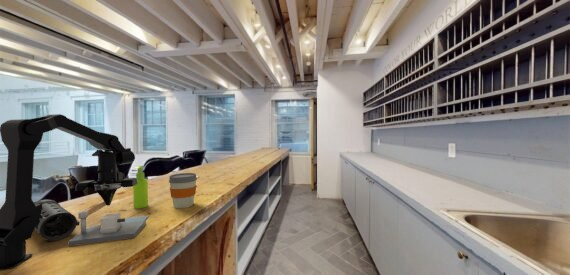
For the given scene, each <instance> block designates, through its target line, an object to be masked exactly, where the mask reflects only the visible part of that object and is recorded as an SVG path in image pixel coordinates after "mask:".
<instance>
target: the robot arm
mask: <svg viewBox="0 0 570 275" xmlns="http://www.w3.org/2000/svg"><path fill="white" fill-rule="evenodd" d="M56 129H57V130H58V131H61V132H64V133H66V134H69V135H71V136H75V137H76V138H80V139H81V140H84V141H86V142H88V143H89V144H90V146H93V147H94V148H96V150H95V152H93V153H92V154H91V156H92V157H97V165H98V166H97V170H96V174H98V180H94V179H93V180H92V179H91V180H83V181H80V182H77V183H76V185H75V192H80V191H81V192H82V191H87V189H89V188H94V190H93V192H95V193H97V194H98V195H99V197H101V199H102V201H104V202H105V203H106V206H108V207H109V206H110V205H111V204H112V201H113V199H114V196H115V194H116V192H117V190H118V189H120V188H131V187H132V188H133V186H134V185H136V184H137V179H136V177H126V178H124V173H123V172H121V171H119V167H117V166H120V165H128V164H132V163H134V161H136V160H135V159H136V155H135V152H133V151H132V150H131V148H130V147H124V145H123V144H122V143H121V141H120V140H119V137H118V136H117V135H115V134H111V133H107V132H102V131H97V130H95V129H93V128H90V127H88V126H86V125H83V124H81V123H79V122H77V121H76V120H73V119H72V118H68V117H67V116H66V115H64V114H61V113H60V114H57V113H56V114H47V115H44V116H40V117H34V118H26V119H25V118H24V119H21V118H20V119H8V120H6V121H5V122H3V123H1V124H0V138H1V141H2V143H3V145H4V146H5V148H6V149H7V152H8V153H7V169H6V181H5V197H4V198H5V201H4V203H3V205H1V207H0V270H6V269H12V268H15V267H17V266H19V265H20V264H22V263H23V262H25V261H26V260H28V259H29V258H31V257H33V253H27V244H26V243H27V242H26V241H27V240H30V239H31V238H32V236H33V234H34V231H35V230H36V229H35V227H36V226H37V225H38V224H39V218H41V219H42V216H41V210H42V204H34V203H35V202H34V201H33V182H34V181H33V180H34V179H33V178H34V165H35V161H34V160H35V151H36V149H37V147H38V146H39V144H40V143H41V142H42V139H43V136H44V134H45V133H47V132H51V131H53V130H56Z"/></svg>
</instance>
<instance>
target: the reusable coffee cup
mask: <svg viewBox="0 0 570 275" xmlns="http://www.w3.org/2000/svg"><path fill="white" fill-rule="evenodd" d="M168 177H169V179H168V183H169V186H170V187H169V191H170V192H169V193H170V198H172V206H173V208H174V209H175V208H176V209H185V208H189V207H192V206H193V205H194V201H195V195H196V193H197V192H196V191H197V180H198V177H197V173H194V172H185V173H175V174H171V175H169V176H168Z"/></svg>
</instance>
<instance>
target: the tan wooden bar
mask: <svg viewBox="0 0 570 275" xmlns="http://www.w3.org/2000/svg"><path fill="white" fill-rule="evenodd" d="M106 206H107V205H106V203H105V202H104V200H100V201H99V202H97V203H95V204H93V205H91V206H89V207H87V208H85V209H83V210H81V211H79V212H78V219H79V220H81V219H83V218H86V219H87V218H88V217H89V216H91V215H92V214H94V213H96V212H99V211H100V210H101V209H102V208H104V207H106Z"/></svg>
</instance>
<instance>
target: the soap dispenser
mask: <svg viewBox="0 0 570 275" xmlns="http://www.w3.org/2000/svg"><path fill="white" fill-rule="evenodd" d="M143 168H144V165H137V166H136V167H134V170H135V169H136V170H137V172H136V174H135V178H136V179H137V184H136V185H134V186H133V187H132V188H133V189H132V192H133V194H132V196H133V209H144V208H146V207H148V206H149V196H148V194H149V192H148V187H149V185H148V179H147V178H145V172H144V171H143Z"/></svg>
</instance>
